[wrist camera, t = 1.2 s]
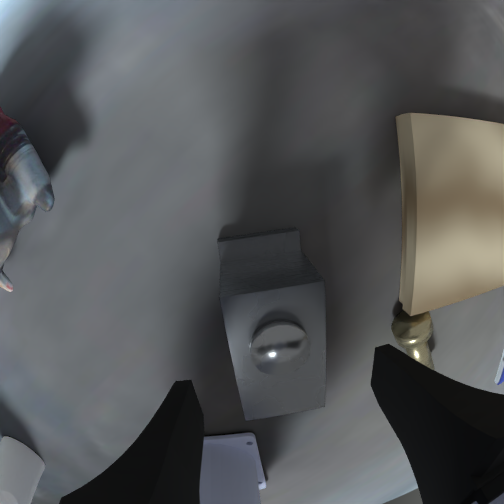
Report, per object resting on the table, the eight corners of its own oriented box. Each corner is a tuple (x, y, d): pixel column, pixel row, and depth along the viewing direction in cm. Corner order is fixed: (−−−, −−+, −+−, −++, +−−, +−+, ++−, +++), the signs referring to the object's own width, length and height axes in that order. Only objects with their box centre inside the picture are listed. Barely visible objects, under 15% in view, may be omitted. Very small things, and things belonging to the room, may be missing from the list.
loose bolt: (432, 354, 19) (450, 374, 17) (406, 374, 20) (421, 395, 17) (416, 300, 18) (437, 319, 15) (384, 323, 18) (403, 345, 15)
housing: (304, 365, 18) (327, 426, 13) (242, 375, 18) (249, 440, 13) (295, 226, 16) (328, 261, 11) (217, 238, 15) (214, 279, 10)
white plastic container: (23, 544, 10) (12, 541, 10) (51, 463, 21) (37, 471, 22) (-32, 508, 8) (-35, 509, 9) (7, 430, 19) (-2, 441, 20)
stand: (502, 270, 18) (518, 279, 16) (394, 301, 17) (410, 316, 16) (506, 128, 14) (526, 128, 13) (390, 116, 14) (410, 112, 12)
